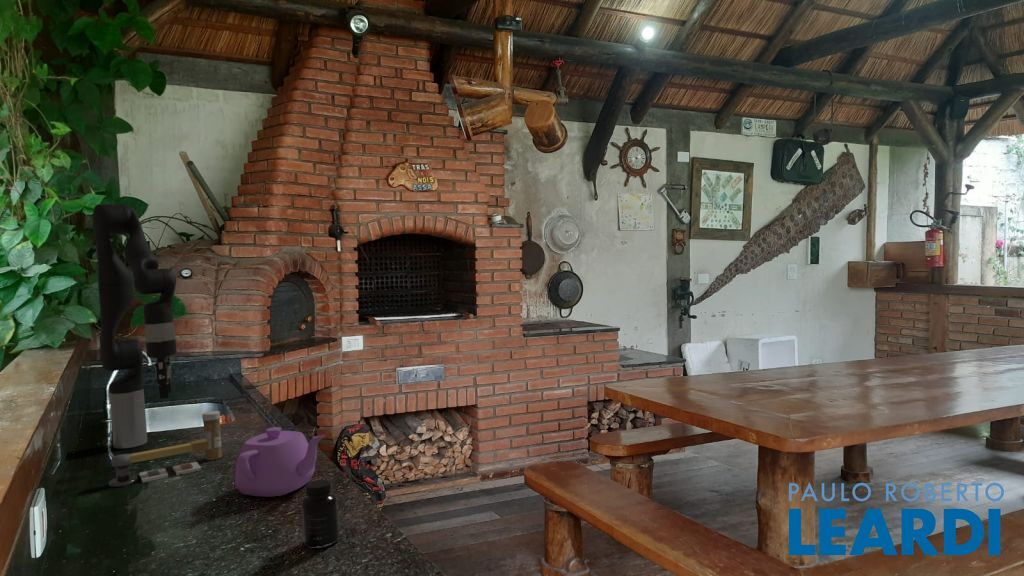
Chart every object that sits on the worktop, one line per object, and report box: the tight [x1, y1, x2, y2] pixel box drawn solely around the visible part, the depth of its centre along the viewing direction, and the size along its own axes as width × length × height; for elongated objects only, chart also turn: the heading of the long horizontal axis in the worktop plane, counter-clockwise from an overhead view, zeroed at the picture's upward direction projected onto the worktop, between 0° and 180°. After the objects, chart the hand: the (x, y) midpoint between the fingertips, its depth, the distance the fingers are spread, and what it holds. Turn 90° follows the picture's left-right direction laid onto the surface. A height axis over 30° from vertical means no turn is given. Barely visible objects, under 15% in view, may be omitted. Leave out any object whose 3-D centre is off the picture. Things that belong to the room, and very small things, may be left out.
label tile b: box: [172, 460, 202, 476], centre depth 177 cm, size 7×6×1 cm
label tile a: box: [139, 467, 169, 484], centre depth 173 cm, size 7×6×1 cm
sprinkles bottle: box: [201, 410, 223, 461], centre depth 187 cm, size 5×5×14 cm
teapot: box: [234, 426, 326, 498], centre depth 157 cm, size 23×21×15 cm
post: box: [108, 465, 138, 488], centre depth 169 cm, size 6×6×5 cm
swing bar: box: [111, 438, 208, 468], centre depth 174 cm, size 4×22×2 cm, turn 125°
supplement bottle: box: [301, 479, 340, 547], centre depth 129 cm, size 7×7×12 cm
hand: (165, 395), depth 184 cm, fingers open, 8 cm apart
